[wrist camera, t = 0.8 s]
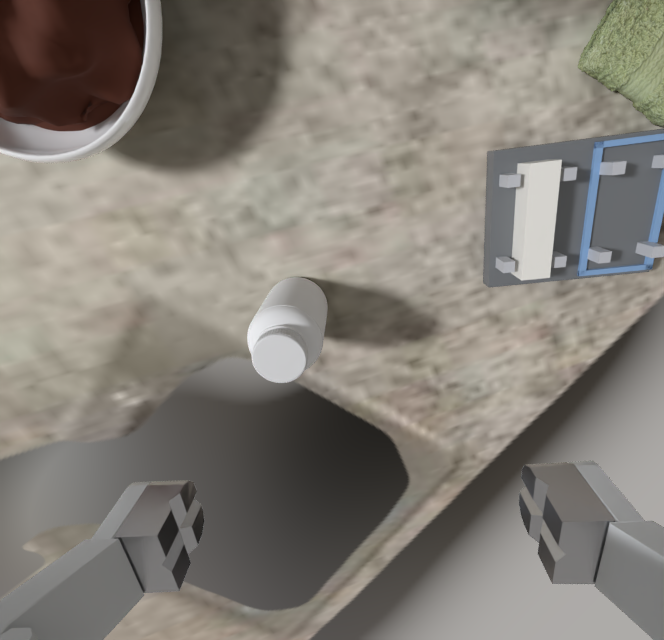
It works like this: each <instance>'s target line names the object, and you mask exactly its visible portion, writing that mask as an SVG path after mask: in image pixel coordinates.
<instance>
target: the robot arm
mask: <svg viewBox="0 0 664 640" xmlns="http://www.w3.org/2000/svg"><path fill="white" fill-rule="evenodd" d="M521 478H522V480H523V482H524V484H525V487H524V488H523V489H522V490H521V491H520V494H519V506H520V512H521V516H522V519H523V522H524V525H525V528H526V530H527V532H528V534H529V535H530V536H531V537H532V538H534V539H535V540H536V541H537V542H539V548H538V555H539V557H540V559H541V561H542V563H543V566H544V567H545V570H546V572H547V574H548V576H549V578H550V580H551V582H552V584H595V587H596V588H597V589H598V590H599V591H600V592H602V593H603V594H604V595H605V596H606V597H607V598H608V599H609V600H610V601H612V602H613V603H614V604H615V605H616V606H617V607H618V608H619V609H620V610H622V611H623V612H624V613H625V614H626V615H627V616H628V617H629V618H630V619H631V620H632V621H634V622H635V623H636V624H637V625H638V626H639V627H640V628H641V629H642V630H643V631H645V632H646V633H647V634H648V635H649V636H650V637H651V638H652V639H653V640H664V527H662V526H661V525H659V524H657V523H656V522H654V521H645V520H644V519H643V518H642V517H641V515H640V514H639V513H638V512H637V511H636V509H635V508H634V507H633V506H632V505H631V504H630V502H629V501H628V500H627V499H626V497H625V496H624V495H623V494H622V493H621V491H620V490H619V489H618V488H617V487H616V485H615V484H614V483H613V482H612V481H611V479H610V478H609V477H608V476H607V475H606V473H605V472H604V471H603V470H602V469H601V467H600V466H599V465H598V464H597V463H595V462H594V461H580V462H569V463H567V462H565V463H547V464H529V465H524V467H523V469H522V474H521ZM196 493H197V490H196V488H195V485H194V482H192V481H153V482H134V483H132V484H131V485H129V486H128V487H127V489H126V490H125V492H124V493H123V494H122V496H121V497H120V499H119V500H118V502H117V503H116V504H115V506H114V507H113V509H112V510H111V511H110V513H109V514H108V516H107V517H106V519H105V520H104V522H103V523H102V524H101V526H100V527H99V529H98V530H97V531H96V533H95V534H94V536H93V537H92V539H88V540H84V541H82V542H81V543H80V544H78V545H77V546H75V547H74V548H73V549H71V550H70V551H68V552H67V553H66V554H64V555H63V556H61V557H60V558H59V559H57V560H56V561H54V562H53V563H52V564H50V565H49V566H47V567H46V568H45V569H43V570H42V571H40V572H39V573H38V574H36V575H35V576H33V577H32V578H31V579H29V580H28V581H26V582H25V583H24V584H22V585H21V586H19V587H18V588H17V589H15V590H14V591H12V592H11V593H10V594H8V595H7V596H5V597H4V598H3V599H1V600H0V640H103V639H104V638H105V637H106V636H107V635H108V634H109V633H110V632H111V631H112V630H113V629H114V628H115V626H116V625H117V624H118V623H119V622H120V621H121V620H122V619H123V618H124V617H125V616H126V615H127V613H128V612H129V611H130V610H131V609H132V608H133V607H134V606H135V605H136V604H137V603H138V602H139V600H140V599H141V598H142V597H143V596H144V593H153V592H172V591H180V588H181V586H182V583H183V581H184V578H185V576H186V573H187V571H188V568H189V566H190V564H191V562H190V558H189V555H188V554H189V553H190V552H191V551H192V550H193V549H194V548H195V547H197V545H198V544H199V541H200V538H201V536H202V532H203V526H204V512H203V509H202V505H201V504H200V503H199V502H197V501H196V500H195V499H194V497H195V495H196Z"/></svg>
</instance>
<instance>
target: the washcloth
mask: <svg viewBox="0 0 664 640" xmlns="http://www.w3.org/2000/svg"><path fill="white" fill-rule="evenodd" d="M578 68H579V69H580V70H581V71H582V72H583V71H584V72H586V73H587V74H588V75H589V76H592V77H593V78H595V79H597V80H598V82H602V84H603V85H605V86H606V87H607V89H610V90H611V91H615V90H616V91H618V92H619V93H620V94H622V95H623V96H624V97H626V98H628V99H630V100H631V101H632V102H633V107H635V108H636V110H638V111H640V112H642V113H643V114H644V115H645V116H646V118H647V119H649V120H650V121H651V123H652V124H654V125H658V126H664V0H613V2H612V3H611V4H610V5H609V7H608V9H607V10H606V15H605V16H604V17H603V19H601V22H600V23H599V25H598V27H597V30H595V31H594V34H593V35H592V37H591V40H590V42H589V43H588V45H587V46H586V47H585V48H584V50H583V53H582V54H581V58H580V61H579V64H578Z"/></svg>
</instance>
